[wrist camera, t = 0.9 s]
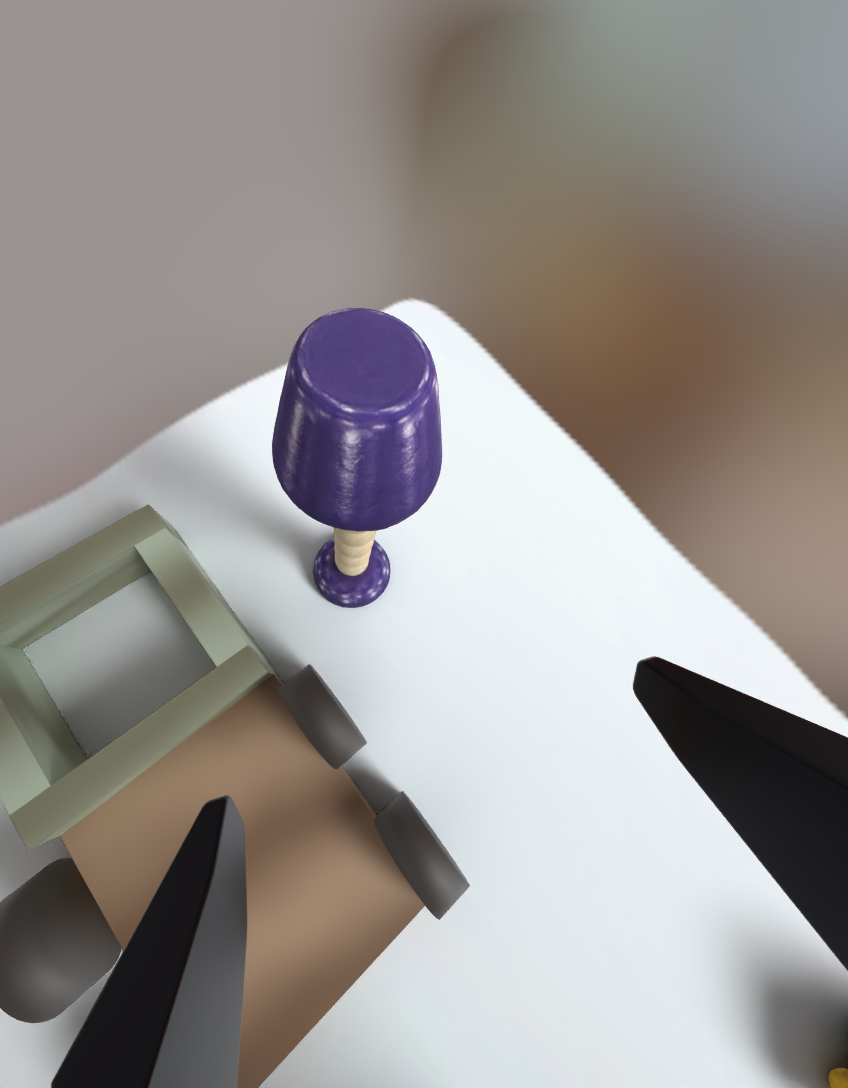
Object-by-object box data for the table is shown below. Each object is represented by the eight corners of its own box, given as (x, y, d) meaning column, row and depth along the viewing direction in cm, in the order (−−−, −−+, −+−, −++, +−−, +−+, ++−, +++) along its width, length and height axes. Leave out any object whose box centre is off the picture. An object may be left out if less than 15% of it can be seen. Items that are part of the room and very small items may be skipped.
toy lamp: (398, 535, 25) (464, 278, 10) (401, 615, 24) (483, 460, 8) (315, 535, 25) (240, 256, 9) (312, 616, 23) (214, 451, 7)
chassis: (456, 862, 20) (481, 905, 16) (195, 1144, 16) (138, 1299, 12) (200, 511, 24) (168, 473, 20) (-65, 666, 20) (-175, 657, 16)
